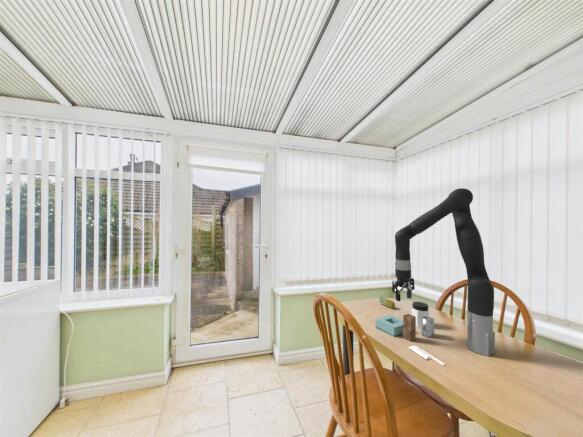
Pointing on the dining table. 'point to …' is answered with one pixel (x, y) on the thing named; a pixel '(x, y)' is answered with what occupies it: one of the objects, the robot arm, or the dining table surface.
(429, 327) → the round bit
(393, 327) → the socket block
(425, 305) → the jar
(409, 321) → the square peg
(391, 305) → the medication box
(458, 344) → the dining table surface
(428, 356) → the white long flat piece
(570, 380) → the dining table surface
